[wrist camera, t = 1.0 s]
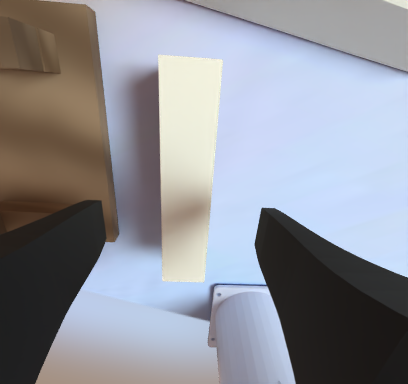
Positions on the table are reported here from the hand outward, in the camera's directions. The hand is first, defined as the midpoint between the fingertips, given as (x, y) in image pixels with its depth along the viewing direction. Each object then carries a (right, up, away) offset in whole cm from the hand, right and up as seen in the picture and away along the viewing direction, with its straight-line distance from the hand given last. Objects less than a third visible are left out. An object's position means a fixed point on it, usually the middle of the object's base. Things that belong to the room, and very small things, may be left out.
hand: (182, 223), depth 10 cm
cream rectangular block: (0, +3, +8) cm, 8 cm away
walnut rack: (-11, +5, +6) cm, 14 cm away
